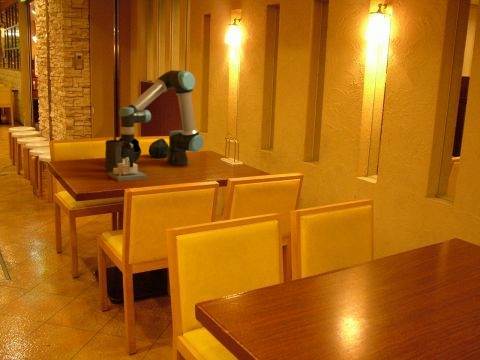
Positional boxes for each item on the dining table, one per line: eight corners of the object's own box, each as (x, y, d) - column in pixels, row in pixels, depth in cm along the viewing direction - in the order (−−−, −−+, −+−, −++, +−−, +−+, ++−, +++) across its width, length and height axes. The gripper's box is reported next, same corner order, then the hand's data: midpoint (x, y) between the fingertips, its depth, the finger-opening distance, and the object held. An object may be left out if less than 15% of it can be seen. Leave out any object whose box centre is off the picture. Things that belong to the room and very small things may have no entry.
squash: (144, 148, 369) (150, 135, 358) (162, 148, 377) (169, 135, 367) (150, 163, 362) (157, 150, 352) (168, 162, 371) (175, 150, 361)
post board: (136, 173, 312) (136, 154, 309) (147, 178, 299) (147, 158, 297) (108, 175, 302) (108, 156, 299) (118, 181, 289) (118, 161, 287)
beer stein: (117, 173, 307) (118, 141, 304) (101, 172, 309) (102, 140, 306) (128, 170, 322) (128, 140, 319) (112, 169, 324) (113, 138, 321)
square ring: (131, 170, 306) (131, 162, 305) (137, 173, 299) (137, 164, 298) (111, 172, 299) (111, 163, 298) (116, 175, 292) (116, 166, 290)
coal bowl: (135, 168, 325) (135, 140, 321) (106, 166, 327) (106, 138, 323) (145, 162, 344) (145, 135, 340) (117, 160, 347) (117, 134, 342)
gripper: (114, 131, 301) (115, 167, 306) (128, 136, 284) (128, 174, 289) (126, 130, 305) (127, 166, 311) (140, 135, 288) (141, 173, 293)
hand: (127, 170), depth 300 cm, fingers closed on square ring, 9 cm apart
